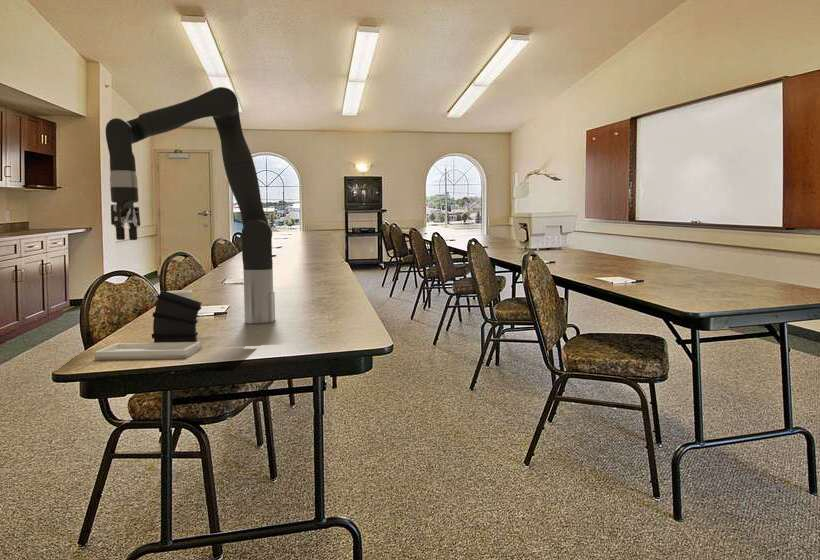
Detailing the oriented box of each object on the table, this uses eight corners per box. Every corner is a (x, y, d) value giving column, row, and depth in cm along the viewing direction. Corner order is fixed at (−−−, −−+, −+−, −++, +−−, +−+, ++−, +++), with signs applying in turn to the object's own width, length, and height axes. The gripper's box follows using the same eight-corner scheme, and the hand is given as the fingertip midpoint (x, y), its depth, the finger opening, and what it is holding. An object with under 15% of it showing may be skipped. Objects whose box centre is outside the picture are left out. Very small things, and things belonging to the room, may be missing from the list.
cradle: (201, 349, 154) (200, 341, 153) (186, 358, 142) (186, 350, 141) (116, 350, 152) (116, 343, 152) (94, 359, 140) (94, 351, 140)
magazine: (144, 340, 159) (162, 290, 159) (191, 354, 162) (209, 305, 162) (140, 343, 156) (158, 291, 156) (189, 357, 158) (207, 306, 158)
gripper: (126, 184, 168) (129, 239, 169) (146, 188, 182) (149, 239, 183) (99, 184, 167) (103, 240, 168) (122, 189, 181) (125, 240, 183)
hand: (127, 239), depth 176 cm, fingers open, 8 cm apart
